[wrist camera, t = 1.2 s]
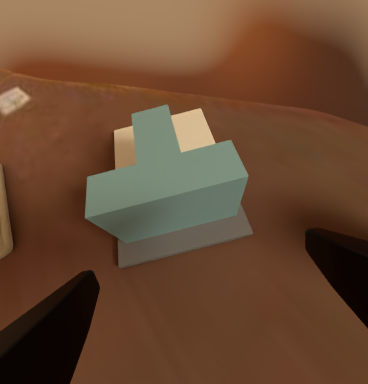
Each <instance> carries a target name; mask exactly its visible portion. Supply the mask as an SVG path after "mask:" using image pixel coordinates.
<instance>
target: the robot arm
mask: <svg viewBox="0 0 368 384" xmlns="http://www.w3.org/2000/svg"><path fill="white" fill-rule="evenodd" d="M305 247H306V251H307V252H308V254H309V255H310V257H311V258H312V260H313V261H314V262H315V264H316V265H317V267H318V268H319V269H320V271H321V272H322V274H323V275H324V276H325V278H326V279H327V281H328V282H329V283H330V285H331V286H332V287H333V288H334V290H335V291H336V292H337V293H338V294H339V295H340V297H341V298H342V299H343V300H344V301H345V302H346V304H347V305H348V306H349V307H350V308H351V309H352V311H353V312H354V313H355V314H356V315H357V316H358V318H359V319H360V320H361V321H362V322H363V323H364V324H365V326H366V327H367V328H368V241H366V240H362V239H359V238H355V237H351V236H347V235H344V234H340V233H336V232H333V231H329V230H325V229H321V228H311V229H307V230H306V232H305ZM99 290H100V286H99V283H98V281H97V278H96V276H95V274H94V272H93V271H92V270H88V271H83V272H81V273H79V274H78V275H76V276H75V277H74V278H72V279H71V280H70V281H68V282H67V283H66V284H64V285H63V286H61V287H60V288H59V289H57V290H56V291H55V292H53V293H52V294H51V295H49V296H48V297H46V298H45V299H44V300H42V301H41V302H40V303H38V304H37V305H36V306H34V307H33V308H31V309H30V310H29V311H27V312H26V313H25V314H23V315H22V316H21V317H19V318H18V319H17V320H15V321H14V322H12V323H11V324H10V325H8V326H7V327H6V328H4V329H3V330H2V331H0V384H70V382H71V379H72V377H73V374H74V371H75V368H76V365H77V363H78V360H79V357H80V354H81V352H82V349H83V346H84V343H85V340H86V338H87V335H88V332H89V328H90V325H91V321H92V317H93V314H94V310H95V306H96V302H97V298H98V294H99Z"/></svg>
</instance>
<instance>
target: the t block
mask: <svg viewBox="0 0 368 384" xmlns="http://www.w3.org/2000/svg"><path fill="white" fill-rule="evenodd" d="M131 115H132V124H133V133H134V142H135V151H136V160H137V164H135V165H131V166H127V167H123V168H119V169H116V170H112V171H108V172H104V173H100V174H96V175H92V176H88V177H87V191H86V207H85V219H87V220H89V221H90V222H92V223H94V224H95V225H97V226H98V227H100V228H102V229H103V230H105V231H107V232H108V233H110V234H112V235H113V236H115V237H117V238H118V239H120V240H122V241H123V242H125V243H130V242H134V241H138V240H142V239H145V238H149V237H153V236H157V235H161V234H165V233H169V232H173V231H177V230H181V229H185V228H189V227H192V226H196V225H200V224H204V223H208V222H212V221H216V220H220V219H224V218H228V217H232V216H235V215H237V212H238V208H239V205H240V202H241V199H242V196H243V193H244V189H245V186H246V183H247V180H248V177H249V176H248V174H247V172H246V170H245V168H244V166H243V164H242V162H241V160H240V157H239V155H238V153H237V151H236V149H235V147H234V145H233V143H232V141H231V140H228V141H224V142H220V143H216V144H213V145H209V146H205V147H201V148H197V149H193V150H189V151H185V152H182V153H181V151H180V147H179V143H178V140H177V136H176V133H175V129H174V126H173V122H172V118H171V115H170V111H169V108H168V105H164V106H160V107H156V108H153V109H149V110H145V111H141V112H137V113H133V114H131Z"/></svg>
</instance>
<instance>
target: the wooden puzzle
mask: <svg viewBox="0 0 368 384" xmlns="http://www.w3.org/2000/svg"><path fill="white" fill-rule="evenodd" d="M12 250H13V238H12V232H11V225H10V217H9V210H8V203H7V195H6V188H5V180H4V172H3V165H2V164H1V163H0V259H2V258H3V257H5V256H6V255H8V254H9V253H10V252H11V251H12Z"/></svg>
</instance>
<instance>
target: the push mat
mask: <svg viewBox="0 0 368 384" xmlns="http://www.w3.org/2000/svg"><path fill="white" fill-rule="evenodd" d="M171 118H172V122H173V126H174V129H175V133H176V136H177V140H178V143H179V147H180V151H181V153H182V152H185V151H189V150H193V149H197V148H201V147H205V146H209V145H213V144H216V143H215V141H214V139H213V136H212V134H211V132H210V129H209V127H208V125H207V122H206V120H205V117H204V115H203V113H202V110H201V108H200V109H196V110H192V111H188V112H184V113H180V114H176V115H173V116H171ZM114 144H115V170H116V169H119V168H123V167H127V166H131V165H135V164H137V160H136V151H135V142H134V133H133V126H130V127H126V128H122V129H119V130H115V131H114ZM252 234H253V231H252V229H251V226H250V224H249V222H248V219H247V217H246V215H245V212H244V210H243V207H242V205H241V203H240V205H239V208H238V212H237V215H235V216H232V217H228V218H224V219H220V220H216V221H212V222H208V223H204V224H200V225H196V226H192V227H189V228H185V229H181V230H177V231H173V232H169V233H165V234H161V235H157V236H153V237H149V238H145V239H142V240H138V241H134V242H130V243H125V242H123V241H122V240H120V239H118V263H119V268H125V267H129V266H133V265H137V264H141V263H145V262H149V261H153V260H157V259H161V258H165V257H168V256H172V255H176V254H180V253H184V252H188V251H192V250H196V249H200V248H204V247H208V246H212V245H216V244H219V243H223V242H227V241H231V240H235V239H239V238H243V237H247V236H251V235H252Z"/></svg>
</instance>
